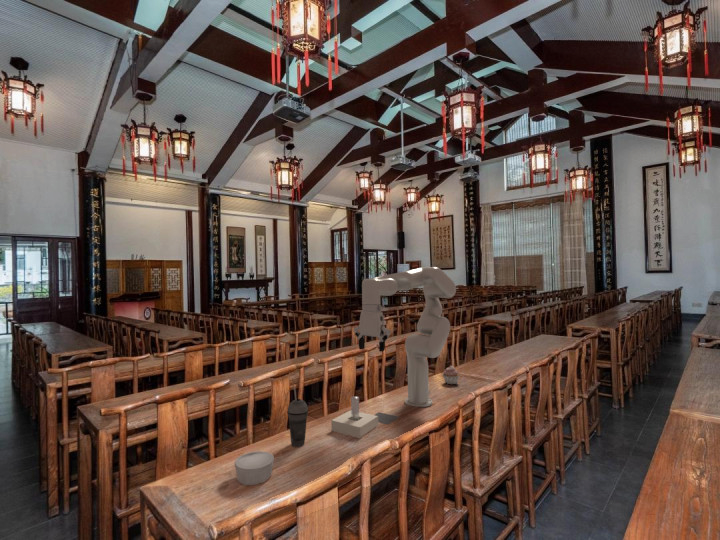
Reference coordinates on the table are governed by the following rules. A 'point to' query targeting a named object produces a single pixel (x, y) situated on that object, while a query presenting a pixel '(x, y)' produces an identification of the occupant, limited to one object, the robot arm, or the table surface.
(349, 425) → the hole block
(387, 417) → the mat
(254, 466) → the ramekin
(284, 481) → the table surface
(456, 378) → the cupcake
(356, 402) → the peg
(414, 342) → the robot arm
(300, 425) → the beverage cup
